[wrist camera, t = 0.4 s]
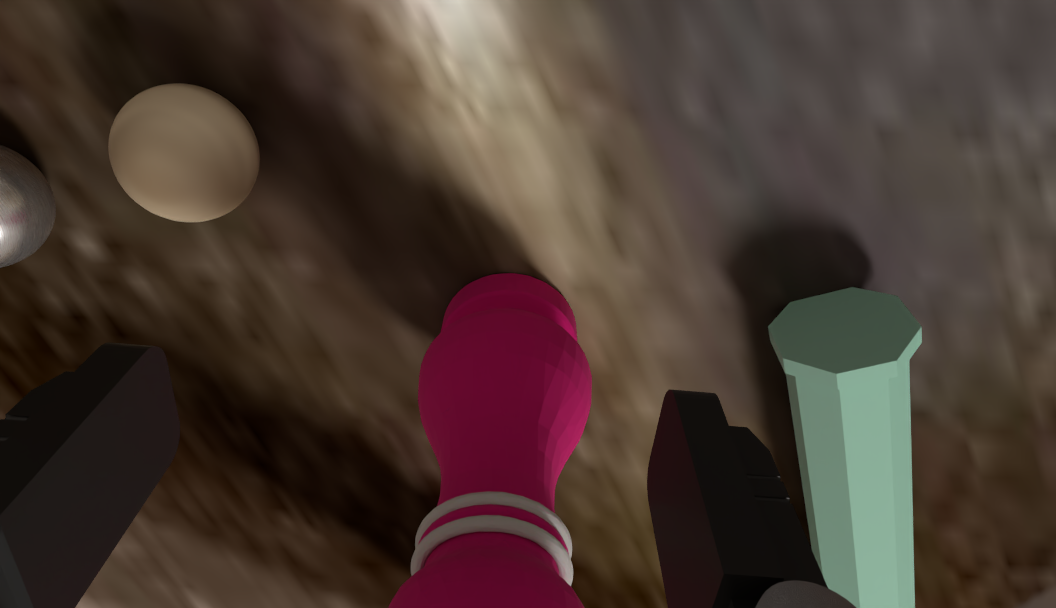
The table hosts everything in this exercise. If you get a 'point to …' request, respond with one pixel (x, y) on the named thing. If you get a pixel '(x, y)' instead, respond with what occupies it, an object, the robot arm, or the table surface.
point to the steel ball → (23, 207)
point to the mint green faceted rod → (854, 437)
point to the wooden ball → (184, 152)
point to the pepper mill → (499, 448)
